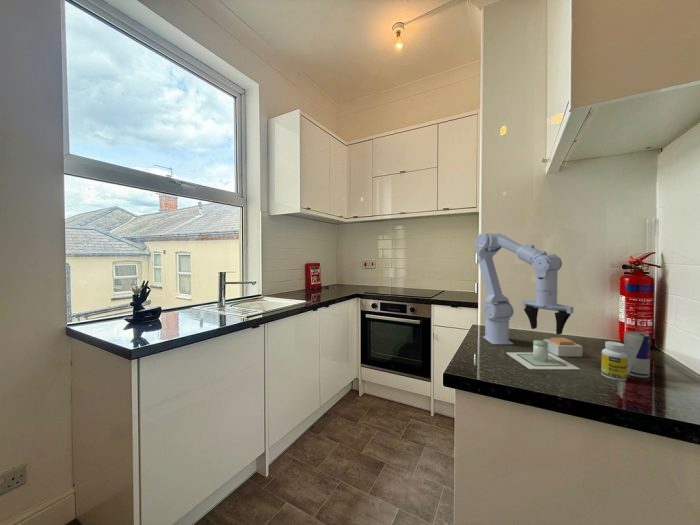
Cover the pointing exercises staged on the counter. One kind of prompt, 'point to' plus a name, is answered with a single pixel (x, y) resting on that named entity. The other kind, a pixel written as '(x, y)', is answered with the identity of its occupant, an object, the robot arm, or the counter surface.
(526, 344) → the counter surface
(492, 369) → the counter surface
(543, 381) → the counter surface
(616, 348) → the supplement bottle
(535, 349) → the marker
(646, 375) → the energy drink
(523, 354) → the picture board
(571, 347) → the button housing
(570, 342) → the button
